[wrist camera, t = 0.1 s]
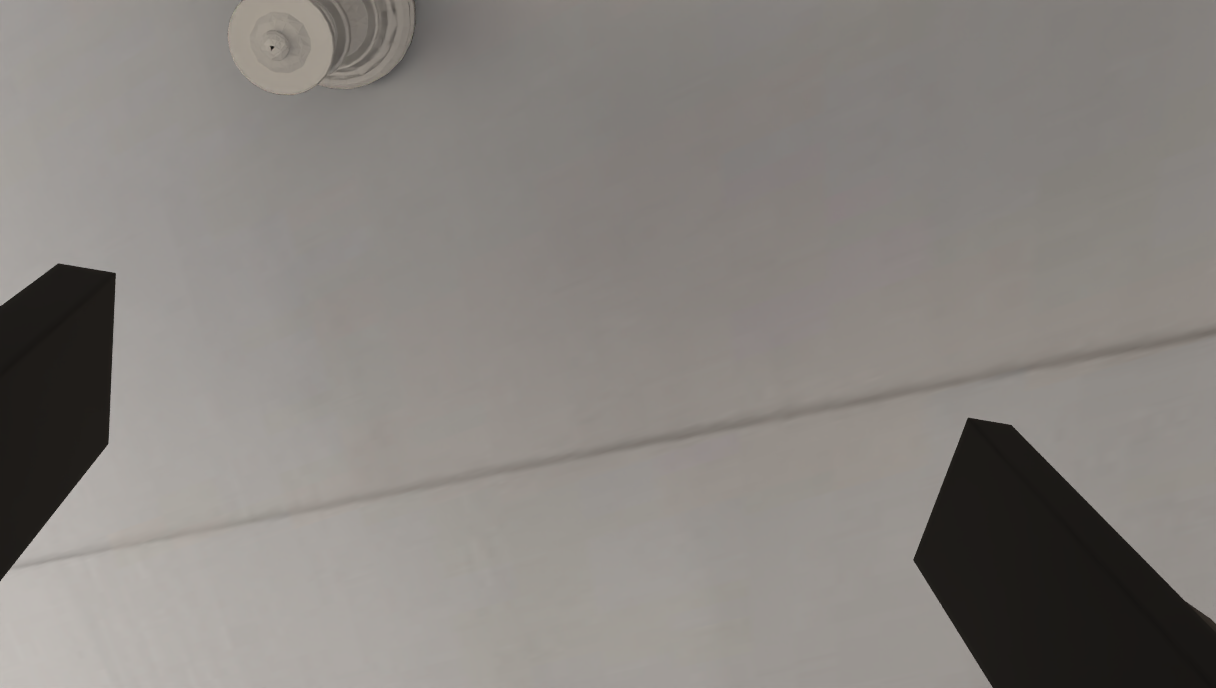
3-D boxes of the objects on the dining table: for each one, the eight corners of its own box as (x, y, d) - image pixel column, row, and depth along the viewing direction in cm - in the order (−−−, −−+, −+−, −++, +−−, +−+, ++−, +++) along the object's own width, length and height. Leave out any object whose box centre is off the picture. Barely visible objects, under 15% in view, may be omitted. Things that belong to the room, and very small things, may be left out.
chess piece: (423, -53, 31) (382, -43, 22) (410, 93, 32) (367, 161, 23) (273, -79, 30) (166, -79, 21) (267, 72, 32) (165, 133, 23)
